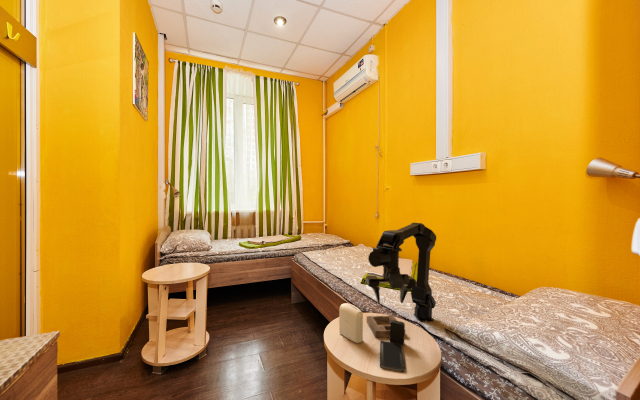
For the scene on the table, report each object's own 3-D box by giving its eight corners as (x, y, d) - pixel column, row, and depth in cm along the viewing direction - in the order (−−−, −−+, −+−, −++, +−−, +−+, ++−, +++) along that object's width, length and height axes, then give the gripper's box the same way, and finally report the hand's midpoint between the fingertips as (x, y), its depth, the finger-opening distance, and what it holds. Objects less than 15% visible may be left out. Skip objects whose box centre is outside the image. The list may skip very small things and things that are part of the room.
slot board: (393, 321, 111) (393, 315, 111) (405, 336, 99) (405, 330, 99) (366, 321, 110) (366, 316, 110) (375, 337, 98) (375, 331, 98)
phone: (379, 366, 80) (380, 340, 94) (379, 369, 80) (380, 343, 94) (405, 370, 78) (402, 343, 92) (405, 374, 78) (402, 346, 92)
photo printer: (337, 333, 101) (337, 302, 101) (345, 329, 103) (345, 299, 103) (356, 344, 93) (357, 311, 93) (364, 340, 95) (364, 308, 95)
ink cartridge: (404, 343, 94) (405, 322, 94) (403, 346, 92) (404, 324, 92) (390, 340, 96) (391, 319, 96) (389, 343, 94) (390, 321, 94)
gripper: (373, 268, 91) (372, 312, 90) (423, 269, 92) (422, 312, 92) (365, 261, 102) (364, 299, 102) (410, 261, 103) (409, 300, 103)
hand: (390, 303), depth 99 cm, fingers open, 9 cm apart
